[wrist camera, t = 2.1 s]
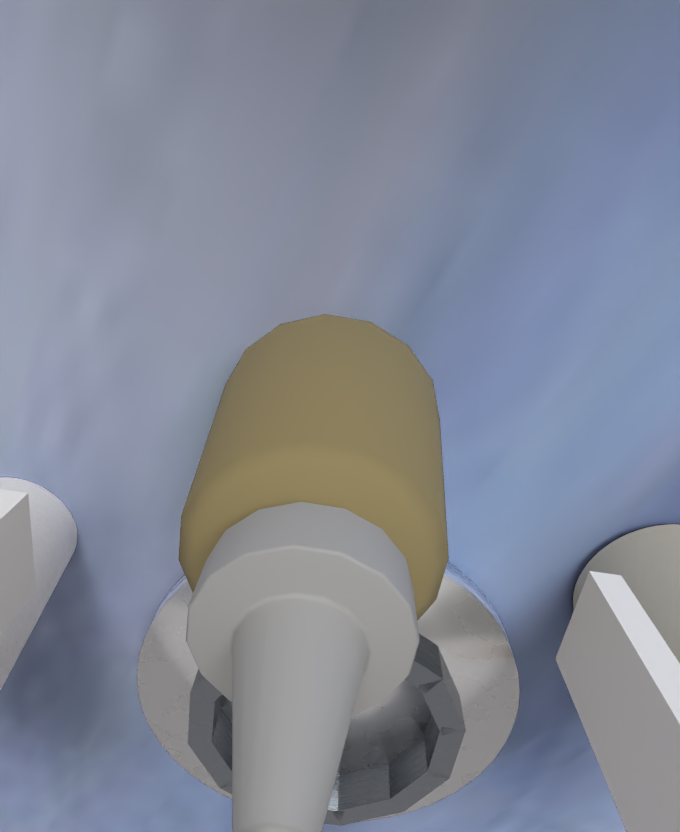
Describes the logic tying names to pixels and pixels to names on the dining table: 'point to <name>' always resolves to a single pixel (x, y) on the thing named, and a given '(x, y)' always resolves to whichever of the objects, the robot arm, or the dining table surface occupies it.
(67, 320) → the dining table surface
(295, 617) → the squeeze bottle
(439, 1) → the dining table surface
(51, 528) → the dixie cup
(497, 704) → the rosette plate
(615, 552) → the travel mug
